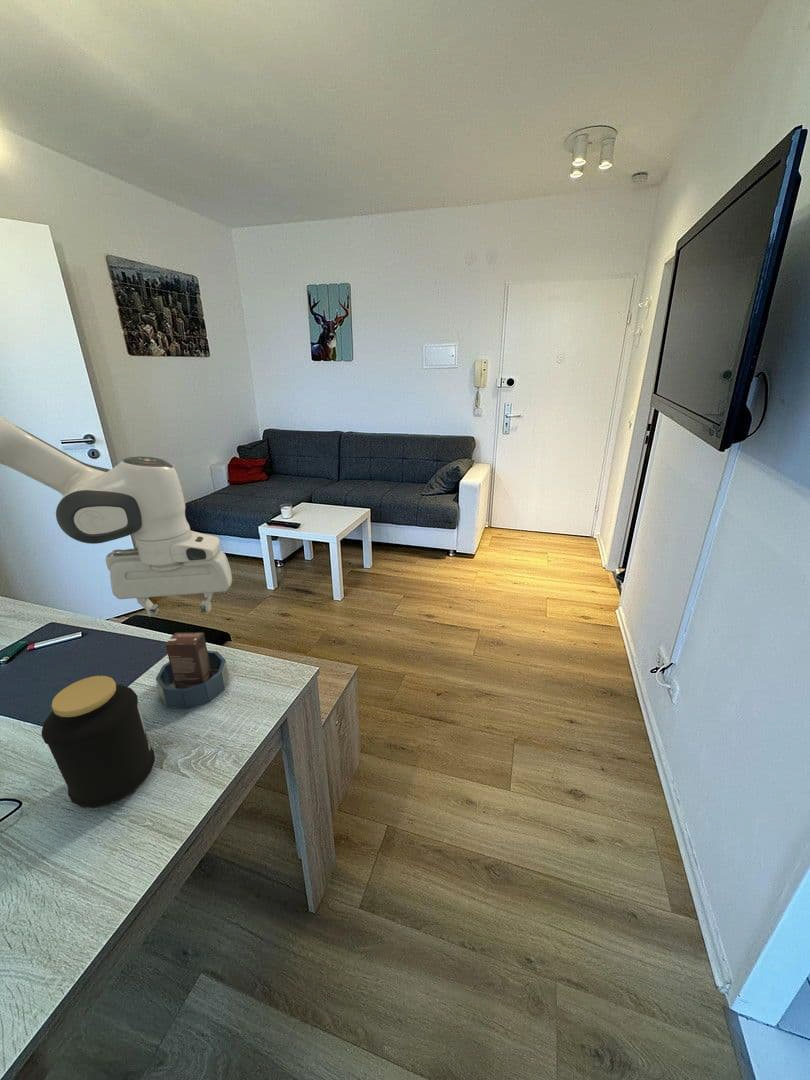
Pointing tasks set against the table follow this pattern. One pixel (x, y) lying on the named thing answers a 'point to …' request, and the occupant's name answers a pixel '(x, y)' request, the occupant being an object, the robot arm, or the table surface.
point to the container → (98, 741)
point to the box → (188, 659)
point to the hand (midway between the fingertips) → (180, 612)
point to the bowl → (194, 693)
